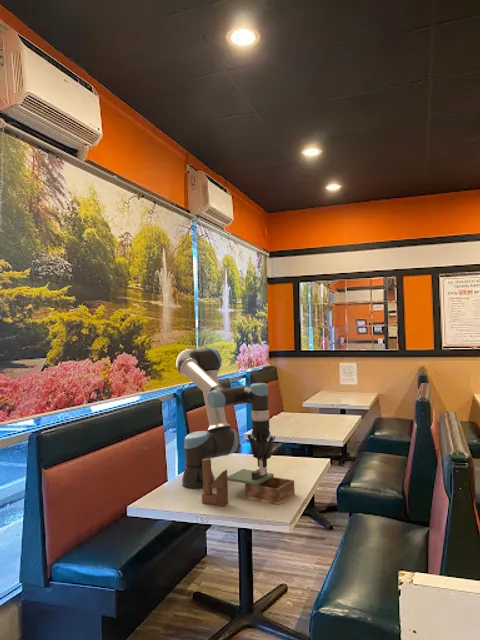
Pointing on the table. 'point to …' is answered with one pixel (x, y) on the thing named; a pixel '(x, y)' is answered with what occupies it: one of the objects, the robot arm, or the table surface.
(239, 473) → the lid
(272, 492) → the wooden box
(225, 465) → the table surface
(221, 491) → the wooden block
